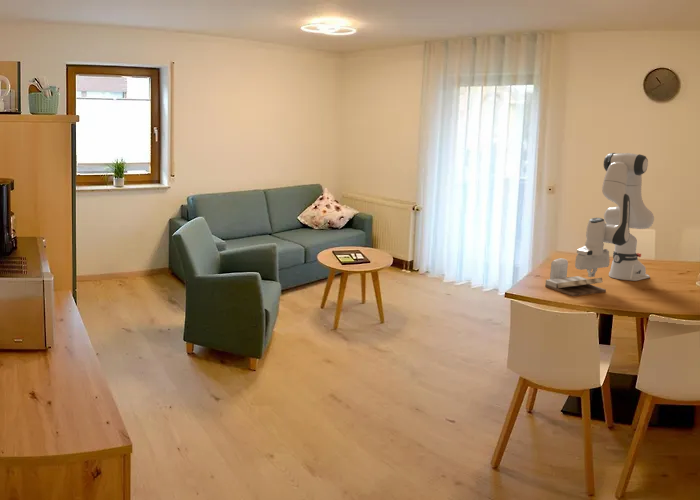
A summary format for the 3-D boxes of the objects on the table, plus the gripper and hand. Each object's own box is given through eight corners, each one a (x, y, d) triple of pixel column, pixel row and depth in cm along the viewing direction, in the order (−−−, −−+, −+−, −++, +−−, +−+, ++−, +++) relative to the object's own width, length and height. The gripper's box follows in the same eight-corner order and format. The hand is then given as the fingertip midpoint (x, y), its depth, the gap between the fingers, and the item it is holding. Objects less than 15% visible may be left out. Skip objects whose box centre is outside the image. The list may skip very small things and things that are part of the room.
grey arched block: (561, 278, 378) (563, 256, 376) (567, 280, 375) (569, 258, 372) (548, 281, 373) (550, 258, 370) (554, 282, 369) (556, 260, 367)
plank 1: (573, 286, 357) (573, 281, 357) (586, 284, 349) (585, 279, 349) (558, 288, 353) (557, 283, 353) (570, 286, 345) (569, 281, 345)
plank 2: (590, 284, 362) (589, 279, 362) (602, 282, 354) (601, 277, 354) (574, 286, 357) (573, 281, 358) (587, 284, 349) (586, 279, 350)
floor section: (577, 282, 370) (577, 276, 370) (605, 291, 353) (606, 284, 352) (545, 286, 361) (545, 279, 360) (572, 296, 343) (573, 289, 343)
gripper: (604, 247, 358) (601, 273, 361) (574, 250, 349) (571, 276, 352) (613, 249, 352) (611, 276, 355) (583, 252, 343) (580, 279, 346)
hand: (591, 276), depth 353 cm, fingers closed
